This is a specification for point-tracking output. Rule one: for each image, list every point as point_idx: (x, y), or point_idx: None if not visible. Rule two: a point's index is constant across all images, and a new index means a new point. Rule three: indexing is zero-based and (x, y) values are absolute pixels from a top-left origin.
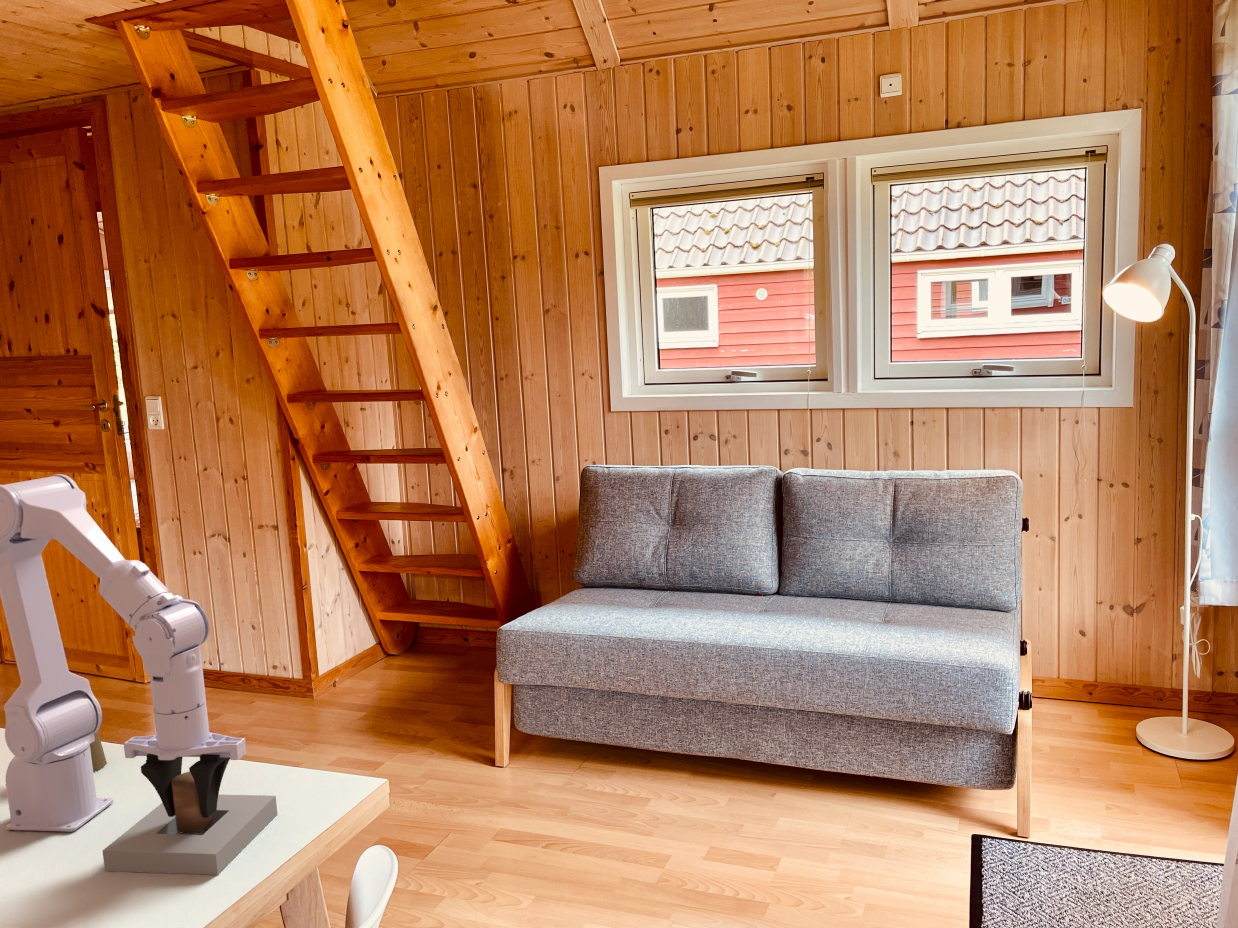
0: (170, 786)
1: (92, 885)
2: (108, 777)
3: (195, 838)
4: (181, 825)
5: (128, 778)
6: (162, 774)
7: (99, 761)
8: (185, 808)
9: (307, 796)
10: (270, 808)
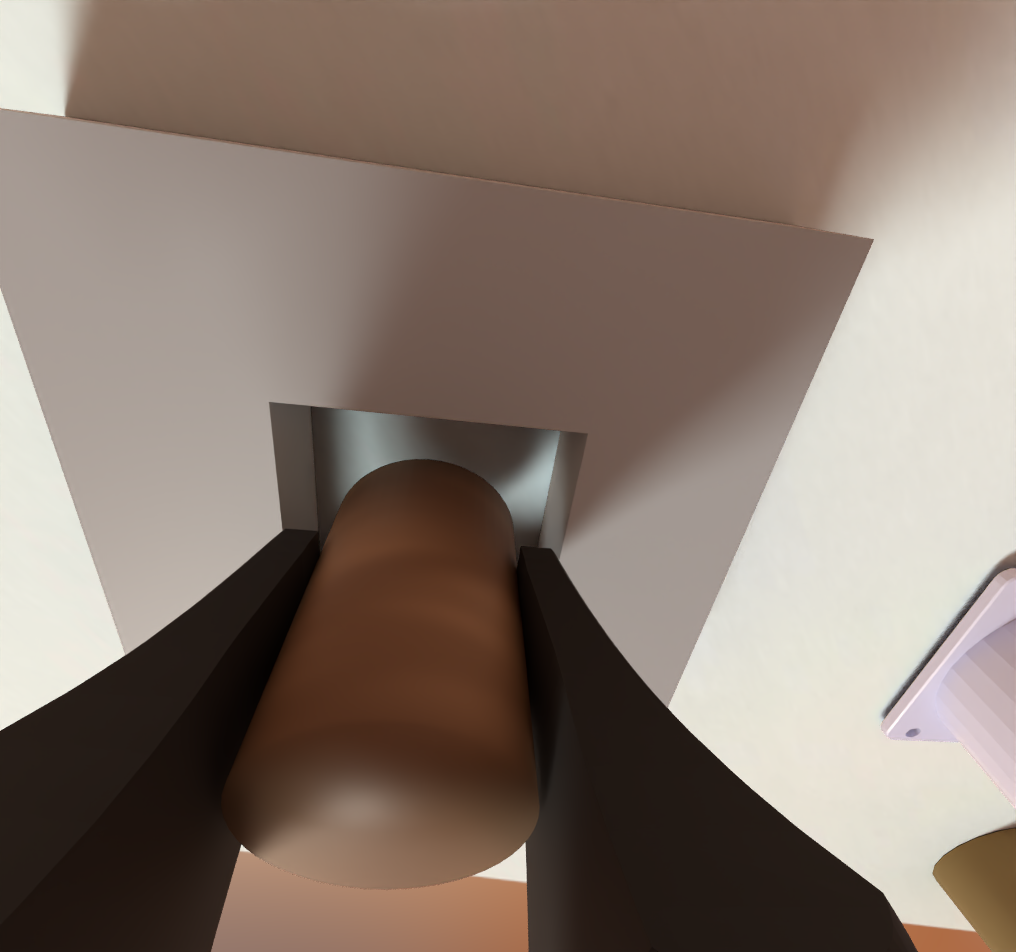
0: (547, 734)
1: (831, 44)
2: (917, 826)
3: (288, 362)
4: (449, 489)
5: (855, 823)
6: (597, 866)
7: (965, 882)
8: (389, 554)
9: None
10: None
